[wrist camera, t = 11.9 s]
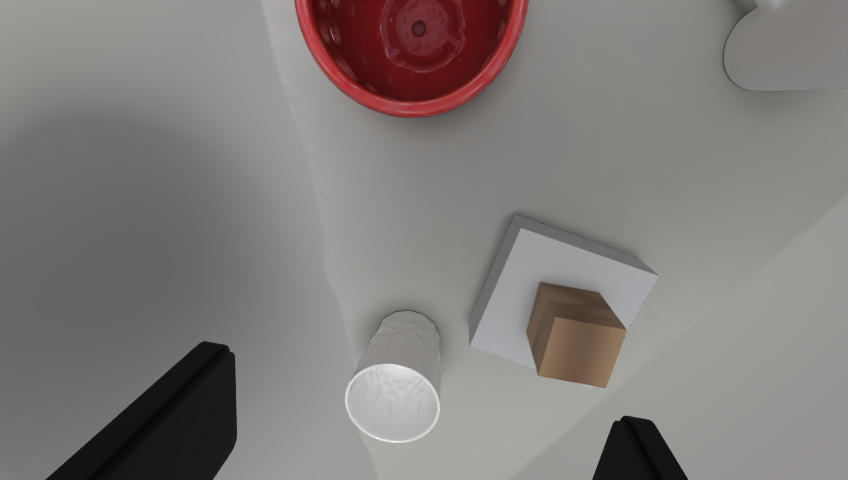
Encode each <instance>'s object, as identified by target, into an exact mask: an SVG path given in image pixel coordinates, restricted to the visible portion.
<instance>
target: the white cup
mask: <svg viewBox="0 0 848 480" xmlns="http://www.w3.org/2000/svg"><path fill="white" fill-rule="evenodd" d="M439 344H440V336H439V333H438V331H437V329H436V327H435V325H434V323H433V322H431V321H430V320H429V319H428V318H427V317H425V316H424V315H423V314H419V313H416V312H412V311H401V312H394V313H393V314H391V315H390V316H388V317H386V318H385V319H383V321H382V323H381V324H380V326H379V328H378V329H377V331H376V333H375V335H374V336H373V337H372V339H371V341H370V343H369V344H368V346H367V348H366V350H365V352H364V354H363V356H362V358H361V360H360V362H359V364H358V366H357V368H356V370H355V372H354V374H353V376H352V378H351V380H350V382H349V384H348V386H347V389H346V393H345V405H346V409H347V412H348V414H349V416H350V418H351V419H352V421H353V422H354V424H355V425H356V426H357V427H358V428H359V429H360V430H362V431H363V432H364V433H366V434H367V435H369V436H371V437H373V438H375V439H378V440H381V441H385V442H391V443H404V442H410V441H413V440H416V439H419V438H421V437H422V436H424V435H426V434H427V433H428V432H429V431H430V430H431V429H432V428H433V427H434V425H435V424H436V422H437V420H438V417H439V414H440V386H441V359H440V358H441V356H440V350H439Z"/></svg>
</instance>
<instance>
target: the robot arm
mask: <svg viewBox="0 0 848 480" xmlns="http://www.w3.org/2000/svg"><path fill="white" fill-rule="evenodd" d="M236 439H237V417H236V379H235V355H234V353H232V352H230V350H229V348H228V346H227V345H223V344H217V343H212V342H206V341H204V342H201V343H200V344H198V345H197V346H196V347H195V348H194V349H193V350H191V351H190V352H189V353H188V354H187V355H186V356H185V357H184V358H182V359H181V360H180V361H179V362H178V363H177V364H176V365H175V366H173V367H172V368H171V369H170V370H169V371H168V372H167V373H165V374H164V375H163V376H162V377H161V378H160V379H159V380H158V381H156V382H155V383H154V384H153V385H152V386H151V387H150V388H148V389H147V390H146V391H145V392H144V393H143V394H142V395H141V396H139V397H138V398H137V399H136V400H135V401H134V402H133V403H132V404H130V405H129V406H128V407H127V408H126V409H125V410H124V411H123V412H121V413H120V414H119V415H118V416H117V417H116V418H115V419H113V420H112V421H111V422H110V423H109V424H108V425H107V426H106V427H105V428H103V429H102V430H101V431H100V432H99V433H98V434H97V435H95V436H94V437H93V438H92V439H91V440H90V441H89V442H88V443H86V444H85V445H84V446H83V447H82V448H81V449H80V450H78V451H77V452H76V453H75V454H74V455H73V456H72V457H71V458H69V459H68V460H67V461H66V462H65V463H64V464H63V465H62V466H60V467H59V468H58V469H57V470H56V471H55V472H54V473H53V474H51V475H50V476H49V477H48V478H47V479H46V480H213V479H214V477H215V475H216V474H217V473H218V471H219V470H220V468H221V466H222V465H223V464H224V462H225V461H226V459H227V458H228V456H229V455H230V453H231V451H232V450H233V448H234V446H235V443H236ZM592 480H688V479H687V477H686V475H685V474H684V472H683V470H682V469H681V467H680V465H679V464H678V462H677V460H676V459H675V457H674V455H673V454H672V452H671V450H670V449H669V447H668V445H667V444H666V442H665V440H664V439H663V437H662V436H661V434H660V432H659V431H658V429H657V428H656V426H655V424H654V423H653V422H652V421H650V420H647V419H642V418H635V417H631V416H623V417H622V418H621V420H620V421H615V422H614V423H613V425H612V428H611V430H610V433H609V435H608V438H607V441H606V444H605V446H604V449H603V452H602V455H601V458H600V460H599V463H598V465H597V468H596V471H595V474H594V476H593V479H592Z"/></svg>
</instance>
